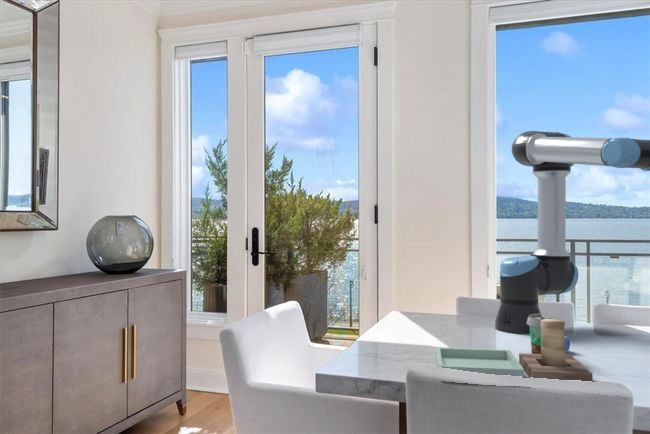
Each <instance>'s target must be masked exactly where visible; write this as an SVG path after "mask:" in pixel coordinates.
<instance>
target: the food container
mask: <svg viewBox="0 0 650 434" xmlns="http://www.w3.org/2000/svg"><path fill="white" fill-rule="evenodd" d="M541 315H542V313H537V314H531V315H529V317H528V319H527V324H528V325H529V327H530V333H529V336H530V347H531V354H541V320H543V319H548V318H546V317H543V316H542V317H541Z"/></svg>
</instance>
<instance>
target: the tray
mask: <svg viewBox="0 0 650 434" xmlns="http://www.w3.org/2000/svg"><path fill="white" fill-rule="evenodd" d="M435 362H436V363H435V364H436V367H437V366H438V367H442V368H450V369H457V370H463V371H470V372H478V373H485V374H495V375H511V376H522V377H524V378H525V371H524V369H523V367H522V366H521V365H520V363H519V360H518V359H517V358H516V356H515V355H514V354H513V352H512V351H511V350H510V349H497V348H496V349H493V348H492V349H491V348H490V349H489V348H466V347H465V348H464V347H463V348H461V347H460V348H459V347H438V346H436V347H435Z"/></svg>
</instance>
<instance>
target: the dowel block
mask: <svg viewBox="0 0 650 434" xmlns="http://www.w3.org/2000/svg"><path fill="white" fill-rule="evenodd" d="M518 362H519V363H520V365H521V366H522V367H523V369H524V373H525V374H526V375H527V377H528V378H529V377H533V378H547V379H559V380H581V381H593V373H592V372H591V370H589V369H588V368H587V367H585V366H584V365H583V364H582V363H581V362H580V361H579V360H577V358H575V357H574V356H573V355H571V354H565V367H560V366H541V354H532V353H521V352H520V353H518ZM593 382H594V381H593Z"/></svg>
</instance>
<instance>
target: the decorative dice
mask: <svg viewBox="0 0 650 434" xmlns="http://www.w3.org/2000/svg"><path fill="white" fill-rule="evenodd" d="M570 347H571V341H570V339H569V338H568V336H566V335H565V354H566V353H567V352H569V350H570Z"/></svg>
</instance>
